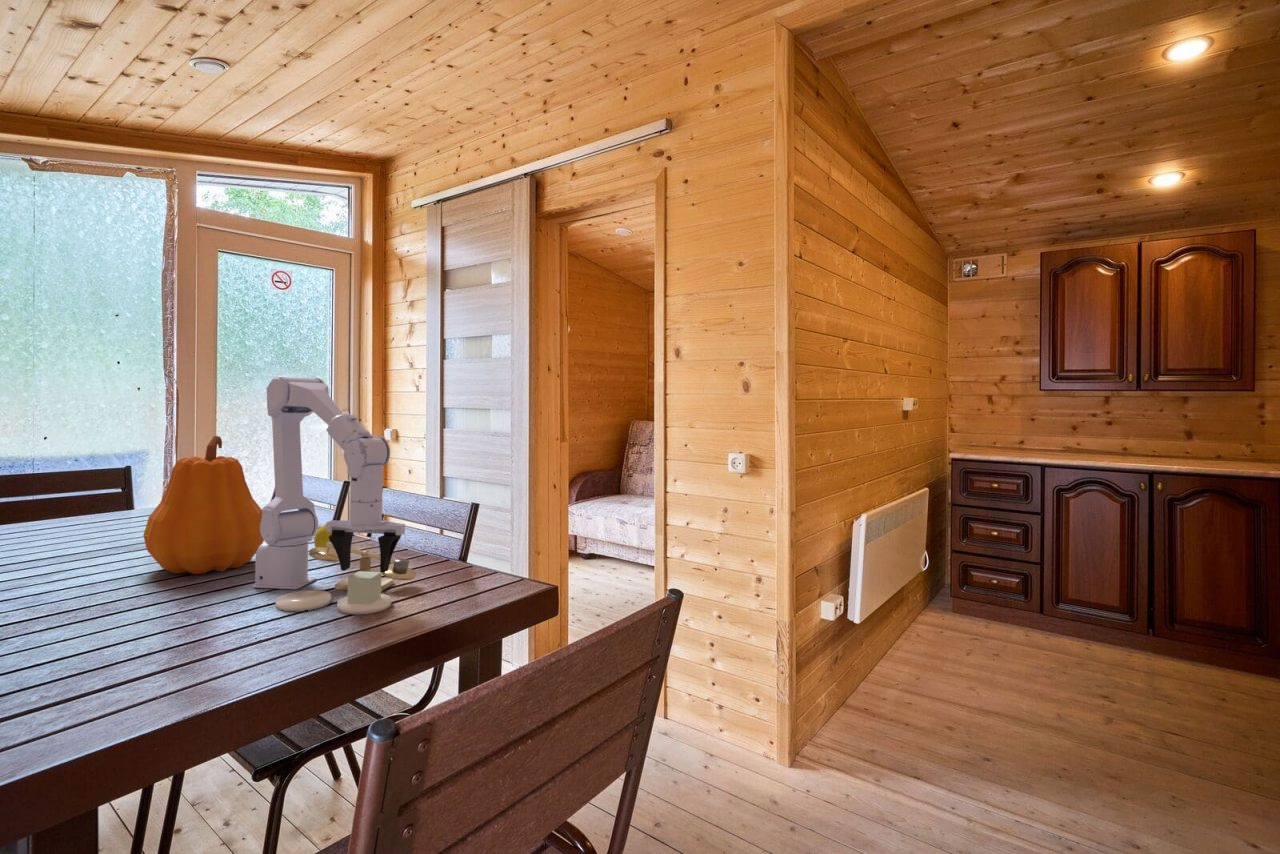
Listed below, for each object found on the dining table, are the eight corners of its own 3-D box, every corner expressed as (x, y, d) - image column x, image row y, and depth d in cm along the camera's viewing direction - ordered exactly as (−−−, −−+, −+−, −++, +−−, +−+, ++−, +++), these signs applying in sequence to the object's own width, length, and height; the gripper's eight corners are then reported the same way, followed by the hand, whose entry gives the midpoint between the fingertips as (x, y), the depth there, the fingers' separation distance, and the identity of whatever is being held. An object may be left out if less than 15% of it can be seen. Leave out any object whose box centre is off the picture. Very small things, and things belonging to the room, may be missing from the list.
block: (347, 603, 126) (347, 577, 126) (358, 596, 130) (358, 571, 130) (370, 604, 126) (371, 578, 125) (380, 597, 130) (381, 572, 130)
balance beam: (302, 555, 138) (305, 541, 138) (319, 547, 145) (322, 534, 145) (408, 582, 137) (411, 568, 137) (420, 573, 144) (423, 560, 144)
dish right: (327, 613, 123) (327, 606, 123) (352, 597, 133) (352, 592, 133) (378, 615, 123) (378, 609, 123) (399, 600, 133) (399, 594, 133)
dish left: (264, 610, 124) (264, 603, 124) (293, 595, 133) (293, 589, 133) (314, 612, 123) (315, 606, 123) (340, 597, 133) (340, 591, 133)
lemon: (328, 559, 163) (329, 526, 162) (309, 557, 164) (309, 525, 164) (343, 554, 168) (343, 522, 168) (323, 552, 169) (324, 521, 169)
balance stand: (334, 589, 138) (335, 559, 138) (348, 581, 144) (349, 553, 144) (381, 591, 138) (382, 561, 138) (393, 583, 144) (394, 555, 144)
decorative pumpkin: (168, 556, 160) (168, 432, 159) (277, 553, 166) (278, 434, 165) (122, 583, 137) (122, 439, 136) (250, 579, 144) (251, 441, 143)
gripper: (318, 501, 123) (317, 573, 124) (394, 505, 123) (393, 577, 123) (337, 496, 130) (336, 564, 131) (409, 499, 130) (408, 567, 130)
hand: (364, 570), depth 128 cm, fingers open, 7 cm apart
